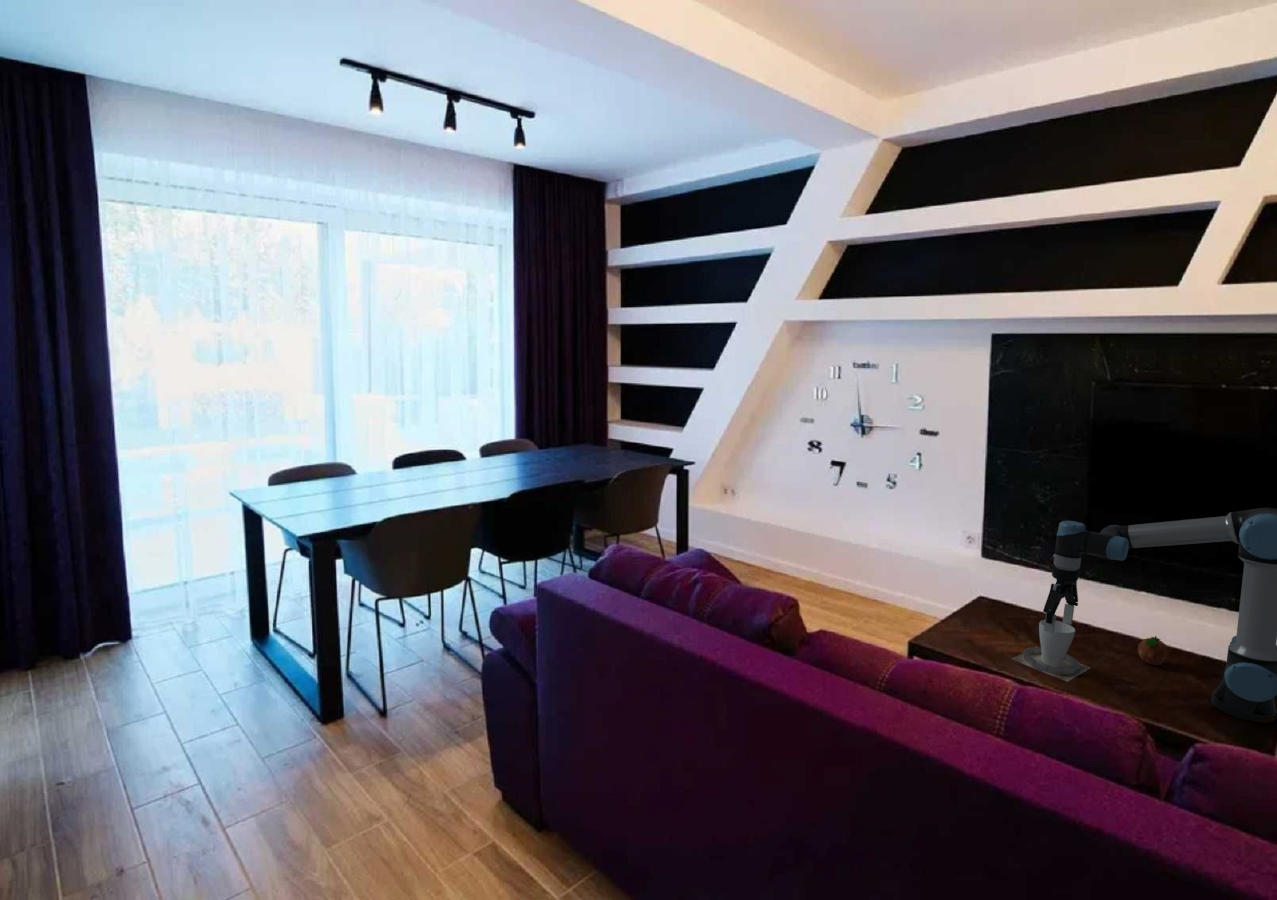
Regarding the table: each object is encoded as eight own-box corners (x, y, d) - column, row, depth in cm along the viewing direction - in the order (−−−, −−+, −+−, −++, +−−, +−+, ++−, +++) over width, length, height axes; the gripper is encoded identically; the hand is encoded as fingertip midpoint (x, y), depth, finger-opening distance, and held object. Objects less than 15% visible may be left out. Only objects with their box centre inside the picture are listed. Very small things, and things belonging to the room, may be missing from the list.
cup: (1035, 652, 243) (1041, 616, 240) (1070, 662, 237) (1076, 625, 234) (1032, 664, 234) (1038, 626, 232) (1068, 673, 228) (1074, 635, 226)
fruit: (1170, 665, 241) (1176, 638, 239) (1159, 671, 235) (1164, 644, 234) (1142, 654, 248) (1147, 628, 246) (1130, 660, 243) (1135, 634, 241)
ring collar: (1087, 667, 234) (1088, 662, 233) (1065, 680, 224) (1066, 674, 224) (1037, 647, 247) (1037, 643, 246) (1014, 659, 237) (1015, 654, 237)
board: (1090, 670, 234) (1091, 667, 233) (1066, 685, 223) (1067, 681, 223) (1035, 649, 248) (1035, 646, 248) (1010, 662, 237) (1011, 658, 237)
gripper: (1070, 558, 239) (1062, 615, 243) (1036, 570, 225) (1028, 631, 228) (1094, 564, 233) (1086, 623, 237) (1061, 577, 219) (1052, 640, 222)
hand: (1058, 627), depth 233 cm, fingers open, 13 cm apart
